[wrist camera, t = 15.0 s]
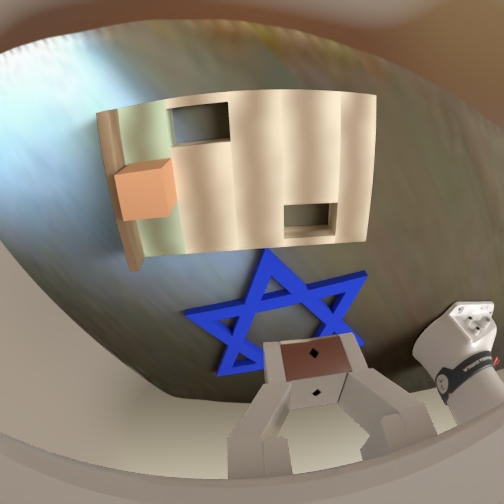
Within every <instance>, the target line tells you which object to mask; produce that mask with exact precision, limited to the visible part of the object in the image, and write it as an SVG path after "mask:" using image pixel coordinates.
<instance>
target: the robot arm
mask: <svg viewBox="0 0 504 504" xmlns="http://www.w3.org/2000/svg"><path fill="white" fill-rule="evenodd" d="M493 309H494V304H493V302H492V301H481V302H455V303H454V304H453V305H452V306H451V307H450V308H449V309H448V310H447V311H446V312H445V313H444V314H443V315H442V316H441V317H439V318H438V319H437V320H435V321H434V322H433V323H432V324H430V325H429V326H428V327H427V328H426V329H425V330H424V331H423V333H422V334H421V335H420V336H419V338H418V339H417V341H416V343H415V345H414V347H413V356H414V358H415V359H416V360H417V361H419V362H420V363H421V365H422V366H423V367H424V368H425V369H426V370H427V372H428V373H429V374H430V376H431V377H432V378H433V380H434V381H435V383H436V386H437V389H438V392H439V394H440V396H441V398H442V400H443V402H444V404H445V405H448V407H449V409H450V411H451V413H452V415H453V417H454V419H455V422H456V424H457V426H456V427H454V428H452V429H450V430H448V431H445V432H443V433H441V434H439V435H437V432H436V430H435V427H434V425H433V423H432V420H431V418H430V416H429V413H428V411H427V409H426V407H425V404H424V403H423V402H422V401H420V400H419V399H417V398H416V397H414V396H413V395H411V394H410V393H408V392H407V391H405V390H404V389H402V388H401V387H399V386H398V385H397V384H395V383H394V382H392V381H391V380H389V379H388V378H386V377H385V376H383V375H382V374H381V373H379V372H378V371H376V370H375V369H373V368H369V369H368V366H367V364H366V361H365V359H364V357H363V354H362V352H361V349H360V347H359V345H358V342H357V340H356V338H355V335H354V334H353V333H352V332H350V333H344V334H338V335H329V336H322V337H315V338H308V339H301V340H289V341H278V342H264V343H263V353H264V375H265V384H263V385H262V387H261V389H260V390H259V392H258V393H257V395H256V396H255V398H254V400H253V401H252V403H251V404H250V406H249V407H248V409H247V410H246V412H245V413H244V415H243V416H242V418H241V419H240V421H239V423H238V424H237V425H236V427H235V428H234V430H233V431H232V433H231V434H230V435H229V437H228V438H227V444H228V445H227V446H228V447H227V448H228V479H190V478H176V477H165V476H155V475H148V474H140V473H134V472H128V471H122V470H117V469H112V468H107V467H103V466H98V465H94V464H90V463H86V462H82V461H78V460H75V459H71V458H68V457H65V456H62V455H58V454H55V453H52V452H49V451H46V450H44V449H41V448H38V447H35V446H33V445H30V444H28V443H25V442H23V441H20V440H18V439H16V438H13V437H11V436H9V435H7V434H4V433H2V432H0V504H504V384H503V382H502V381H501V379H500V378H499V376H498V375H497V373H496V372H495V370H494V368H495V366H496V365H497V363H498V362H499V360H498V361H497V362H496V360H497V358H498V357H496V358H495V360H494V361H493V358H492V354H491V349H492V346H493V343H494V339H495V336H496V331H497V329H496V324H495V322H494V321H493V319H492V318H491V316H492V313H493ZM495 362H496V364H495ZM334 403H338V405H339V406H340V407H341V408H342V409H343V410H344V411H345V412H346V413H347V414H348V415H349V416H350V417H351V418H353V419H354V420H355V421H356V422H357V423H358V424H359V425H360V426H361V427H362V428H363V429H364V430H365V431H366V432H367V433H368V434H369V435H370V437H369V438H368V440H367V441H366V443H365V444H364V445H363V447H362V448H361V449H360V451H361V455H362V459H363V461H360V462H356V463H352V464H348V465H343V466H339V467H334V468H329V469H324V470H319V471H313V472H307V473H300V474H293V473H292V466H291V460H290V453H289V447H288V441H287V439H286V438H284V437H282V436H277V434H278V432H279V431H280V428H281V427H282V425H283V423H284V421H285V419H286V416H287V415H288V412H289V410H295V409H301V408H308V407H313V406H321V405H328V404H334ZM276 436H277V437H276Z"/></svg>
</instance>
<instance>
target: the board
mask: <svg viewBox="0 0 504 504" xmlns="http://www.w3.org/2000/svg"><path fill="white" fill-rule="evenodd" d="M219 102H228V109H229V124H230V138H222V139H211V140H201V141H192V142H184V143H176V141H175V132H174V122H173V112H172V108H177V107H184V106H191V105H200V104H209V103H219ZM96 115H97V123H98V130H99V137H100V144H101V150H102V156H103V162H104V167H105V172H106V178H107V183H108V187H109V192H110V197H111V201H112V206H113V210H114V214H115V218H116V222H117V226H118V230H119V234H120V238H121V241H122V245H123V248H124V252H125V255H126V259H127V262H128V266H129V269H130V272H131V271H139V269H140V267H141V265H142V263H143V261H144V258H145V257H150V256H163V255H177V254H190V253H204V252H218V251H232V250H246V249H260V248H274V247H288V246H302V245H316V244H331V243H345V242H360V241H366V234H367V227H368V219H369V211H370V202H371V192H372V181H373V169H374V154H375V134H376V95H370V94H361V93H351V92H339V91H323V90H248V91H232V92H220V93H209V94H200V95H192V96H184V97H177V98H171V99H164V100H159V101H153V102H148V103H142V104H137V105H133V106H128V107H124V108H119V109H114V110H107V111H103V112H99V113H96ZM166 158H172V163H173V171H174V179H175V186H176V194H177V201H176V203H175V205H174V207H173V209H172V211H171V213H170V215H169V217H160V218H149V219H139V220H130V221H123V216H122V212H121V207H120V203H119V198H118V193H117V188H116V183H115V177H114V175H115V174H116V173H118V172H119V171H121V170H122V169H123V168H125V167H126V166H128V165H129V164H131V163H137V162H144V161H151V160H158V159H166ZM316 203H329V217H328V225H310V226H294V227H284V205H294V204H316Z"/></svg>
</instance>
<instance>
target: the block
mask: <svg viewBox="0 0 504 504" xmlns="http://www.w3.org/2000/svg"><path fill="white" fill-rule="evenodd" d="M114 177H115V183H116V188H117V193H118V198H119V203H120V207H121V212H122V216H123V221H130V220H139V219H149V218H160V217H169V215H170V213H171V211H172V209H173V207H174V205H175V203H176V201H177V194H176V186H175V179H174V171H173V163H172V158H166V159H158V160H151V161H144V162H137V163H131V164H129V165H128V166H126V167H125V168H123V169H122V170H121V171H119V172H118V173H116V174H115V175H114Z"/></svg>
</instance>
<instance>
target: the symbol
mask: <svg viewBox="0 0 504 504" xmlns="http://www.w3.org/2000/svg"><path fill="white" fill-rule="evenodd" d="M271 276H272V277H273V278H274V279H276V280H277V281H278V282H279V283H280V284H281V285H282V286H283V287H284V288H286V289H285V290H280V291H276V292H271V293H266V294H264V292H265V289H266V287H267V284H268V282H269V280H270V277H271ZM367 276H368V275H367V273H366V272H365V270H364V271H360V272H356V273H352V274H348V275H344V276H340V277H336V278H332V279H327V280H323V281H319V282H315V283H311V284H305V283H304V282H303V281H302V280H301V279H300V278H298V277H297V276H296V275H295V274H294V273H293V272H292V271H291V270H290V269H289V268H288V267H287V266H286V265H285V264H284V263H283V262H282V261H281V260H280V259H279V258H278V257H277V256H275V255H274V254H273V253H272V252H271V251H270V250H269V249H268V248H263V249H262V252H261V255H260V257H259V260H258V263H257V265H256V268H255V271H254V273H253V276H252V279H251V282H250V284H249V287H248V290H247V292H246V295H245V298H243V299H238V300H233V301H228V302H223V303H218V304H213V305H208V306H202V307H197V308H192V309H186V310H185V315H184V316H186V317H187V318H188V319H190V320H191V321H193V322H194V323H196V324H197V325H199V326H200V327H202V328H203V329H204V330H206V331H207V332H209V333H210V334H212V335H213V336H215V337H216V338H218V339H219V340H221V341H222V342H224V343H226V344H227V345H226V348H225V350H224V353H223V356H222V358H221V361H220V364H219V366H218V369H217V376H224V375H231V374H237V373H244V372H250V371H256V370H261V369H264V353H263V350H261V349H260V348H258V347H257V346H255V345H254V344H252V343H251V342H249V341H248V340H246V339H245V336H246V334H247V332H248V329H249V327H250V325H251V322H252V320H253V318H254V315H255V313H257V312H262V311H266V310H271V309H276V308H280V307H285V306H290V305H294V304H298V303H302V304H303V305H305V306H306V307H307V308H308V309H309V310H310V311H311V312H312V313H314V314H315V315H316V316H317V317H318V318H319V319H320V320H321V321H323V322H322V324H321V326H320V327H319V329H318V331H317V332H316V334H315V336H314V337H313V338H315V337H322V336H329V335H332V334H333V332H335V333H336V334H337V335H338V334H344V333H350V332H352V333H353V334H354V335H355V338H356V340H357V342H358V345H359V347H360V346H363V345H365V344H364V342H363V340H362V339H361V338H360V337H359V336H358V335H357V334H356V333H355V332H354V331H353V330H352V329H351V328H350V327H349V326H348V325H347V324H346V323H345V322H344V321H343V320H342V318H343V317H344V315H345V313H346V312H347V310H348V308H349V307H350V305H351V304H352V302H353V300H354V299H355V297H356V295H357V294H358V292H359V290H360V288H361V287H362V285H363V283H364V281H365V280H366V278H367ZM336 294H339V295H338V297H337V299H336V300H335V302H334V304H333V305H332V307H331V308H330V307H329V306H328V305H326V304H325V303H324V302H323V301H322V300H321V299H320V298H324V297H328V296H332V295H336ZM232 317H237V319H236V321H235V324H234V327H233V329H230V328H229V327H227V326H226V325H224V324H223V323H222V322H220V321H219V320H221V319H226V318H232ZM239 352H240V353H241V354H243V355H244V356H246V357H248V358H249V359H244V360H239V361H235V360H236V357H237V355H238V353H239Z"/></svg>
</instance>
